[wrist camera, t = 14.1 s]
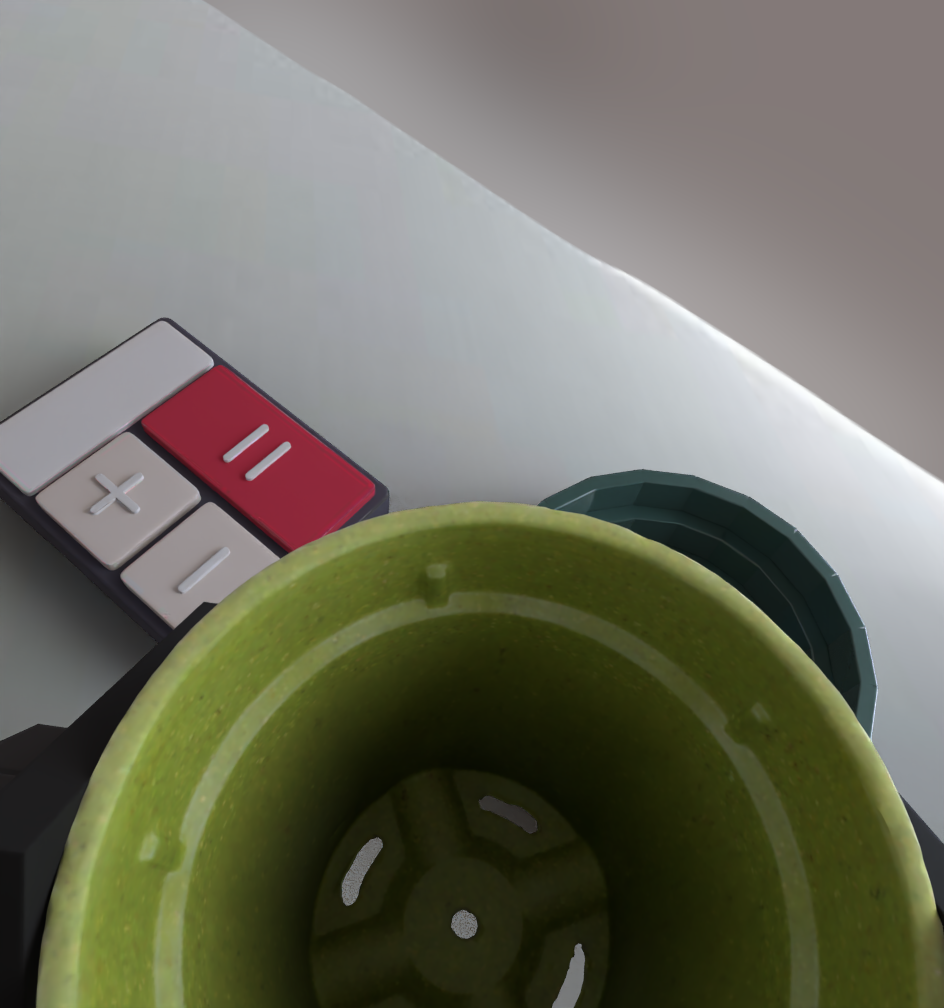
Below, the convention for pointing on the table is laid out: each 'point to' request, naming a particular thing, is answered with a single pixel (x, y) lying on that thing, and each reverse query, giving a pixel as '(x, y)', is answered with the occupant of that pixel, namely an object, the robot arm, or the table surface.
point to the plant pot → (490, 793)
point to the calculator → (174, 476)
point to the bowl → (743, 564)
